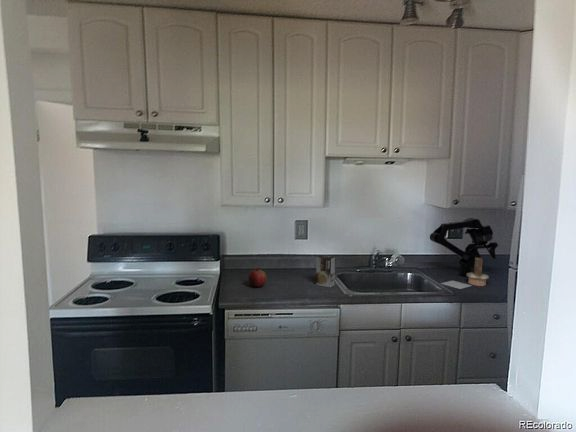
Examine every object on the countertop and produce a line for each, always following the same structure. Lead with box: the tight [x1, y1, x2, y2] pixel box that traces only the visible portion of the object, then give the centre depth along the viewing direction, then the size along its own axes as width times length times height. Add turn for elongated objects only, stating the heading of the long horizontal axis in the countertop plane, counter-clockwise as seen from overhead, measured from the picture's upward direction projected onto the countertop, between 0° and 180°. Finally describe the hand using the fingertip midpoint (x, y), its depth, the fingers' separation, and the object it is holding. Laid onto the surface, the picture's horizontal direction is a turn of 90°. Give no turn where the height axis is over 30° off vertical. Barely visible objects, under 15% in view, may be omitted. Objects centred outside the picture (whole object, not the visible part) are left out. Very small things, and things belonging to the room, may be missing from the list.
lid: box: [467, 257, 490, 280], centre depth 222 cm, size 12×12×11 cm
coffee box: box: [315, 254, 336, 288], centre depth 214 cm, size 9×6×16 cm
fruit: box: [248, 267, 267, 288], centre depth 209 cm, size 11×10×10 cm
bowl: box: [467, 277, 487, 287], centre depth 223 cm, size 9×9×4 cm
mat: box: [440, 280, 472, 290], centre depth 220 cm, size 12×12×1 cm
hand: (487, 259), depth 228 cm, fingers open, 9 cm apart
